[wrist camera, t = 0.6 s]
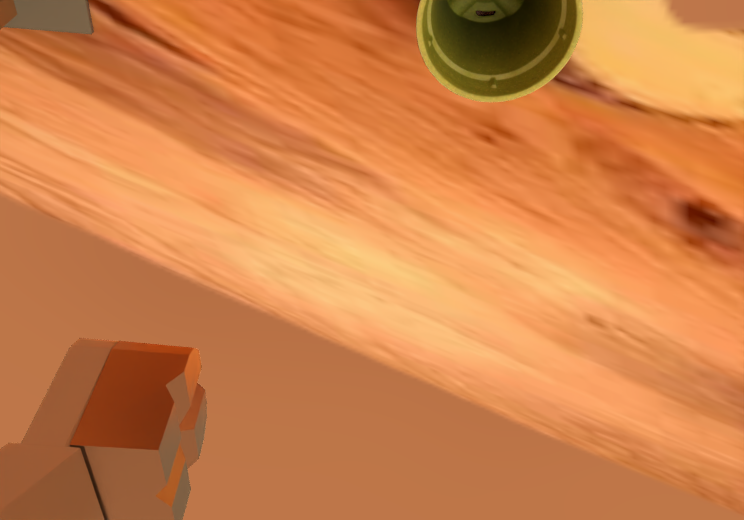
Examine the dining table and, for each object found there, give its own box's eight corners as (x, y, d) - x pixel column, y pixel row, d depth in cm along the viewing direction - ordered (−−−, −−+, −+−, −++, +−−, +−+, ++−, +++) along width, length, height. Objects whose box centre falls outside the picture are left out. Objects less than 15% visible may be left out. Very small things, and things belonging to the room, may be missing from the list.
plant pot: (416, 48, 50) (418, 105, 44) (413, -97, 44) (414, -56, 38) (550, 42, 50) (572, 99, 43) (565, -106, 44) (593, -66, 37)
